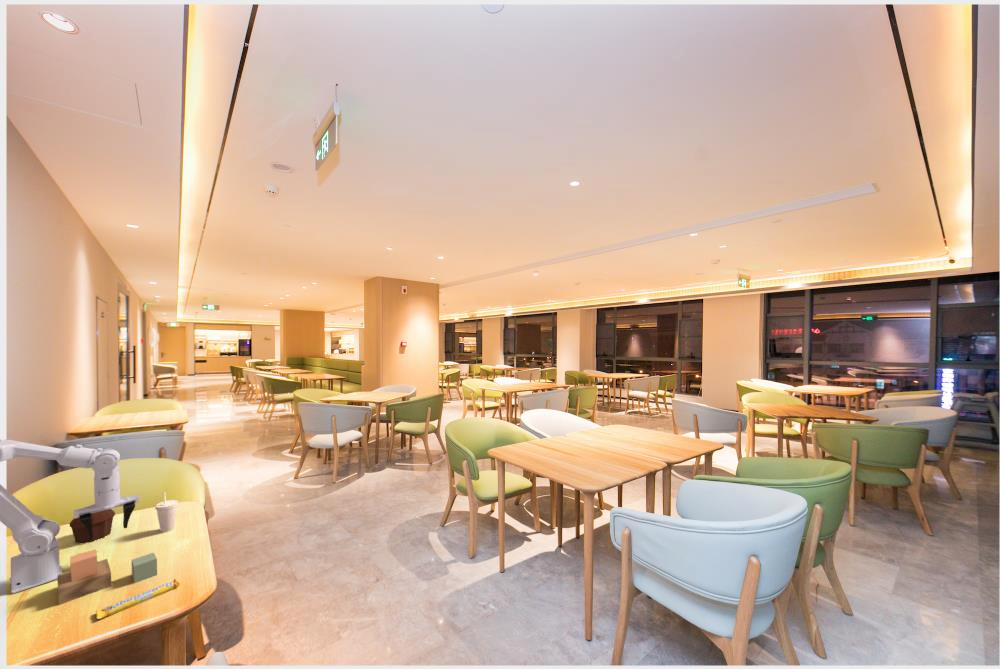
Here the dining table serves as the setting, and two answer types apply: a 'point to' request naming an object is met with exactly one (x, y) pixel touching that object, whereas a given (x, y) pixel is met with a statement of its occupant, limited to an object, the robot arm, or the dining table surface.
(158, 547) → the dining table surface
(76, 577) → the terracotta cube
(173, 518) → the smoothie
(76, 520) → the muffin
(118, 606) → the candy bar
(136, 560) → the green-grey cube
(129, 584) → the dining table surface
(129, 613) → the dining table surface
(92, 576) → the walnut block
